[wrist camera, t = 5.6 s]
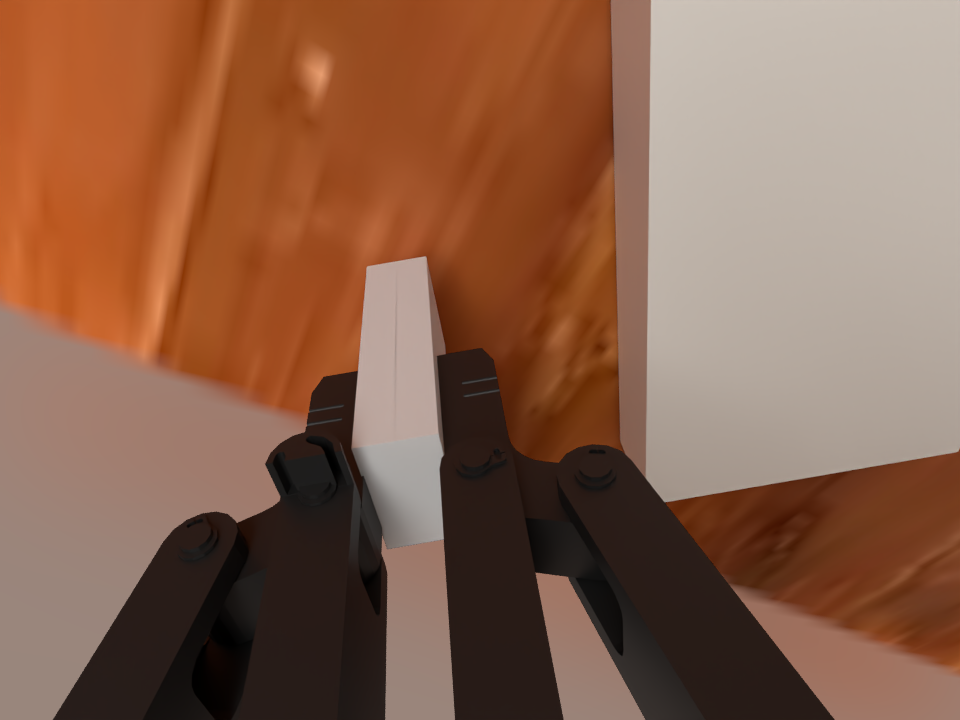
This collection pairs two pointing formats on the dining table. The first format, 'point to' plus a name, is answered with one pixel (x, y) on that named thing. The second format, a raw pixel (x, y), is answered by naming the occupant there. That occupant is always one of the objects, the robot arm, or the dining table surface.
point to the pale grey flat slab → (785, 237)
